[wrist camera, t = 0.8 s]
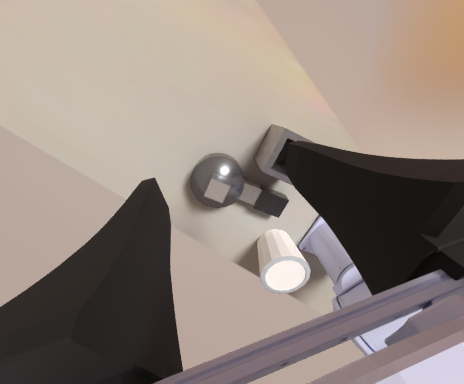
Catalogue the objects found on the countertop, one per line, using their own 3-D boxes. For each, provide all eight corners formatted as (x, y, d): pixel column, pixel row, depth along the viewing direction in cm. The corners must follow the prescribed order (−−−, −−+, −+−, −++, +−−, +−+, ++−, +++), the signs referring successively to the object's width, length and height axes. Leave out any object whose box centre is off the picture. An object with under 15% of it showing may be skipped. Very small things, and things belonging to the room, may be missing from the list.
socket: (304, 140, 26) (326, 148, 20) (285, 173, 28) (300, 188, 22) (271, 124, 25) (285, 128, 19) (254, 159, 27) (262, 171, 21)
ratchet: (291, 183, 28) (304, 197, 24) (269, 221, 31) (276, 240, 26) (204, 144, 26) (199, 152, 21) (186, 189, 28) (179, 205, 23)
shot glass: (249, 231, 31) (255, 262, 25) (291, 221, 31) (308, 251, 24) (257, 262, 34) (265, 298, 28) (296, 254, 34) (313, 288, 27)
